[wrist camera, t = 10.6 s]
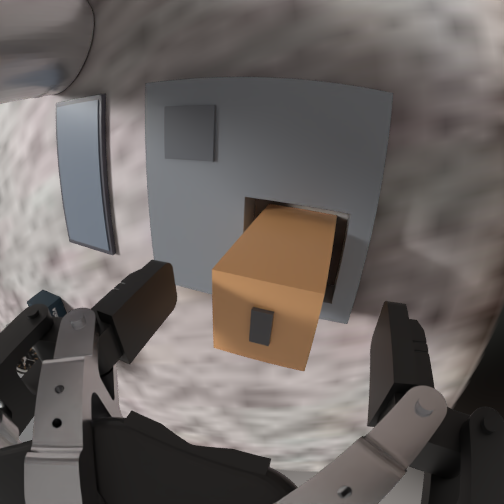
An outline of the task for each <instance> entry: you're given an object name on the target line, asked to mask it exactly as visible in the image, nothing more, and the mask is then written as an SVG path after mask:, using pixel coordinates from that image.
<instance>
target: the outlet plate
mask: <svg viewBox="0 0 504 504" xmlns="http://www.w3.org/2000/svg"><path fill="white" fill-rule="evenodd" d="M392 102H393V93H390V92H386V91H381V90H376V89H370V88H365V87H359V86H353V85H346V84H339V83H332V82H323V81H314V80H303V79H290V78H272V77H211V78H193V79H180V80H169V81H160V82H152V83H146V89H145V145H146V172H147V189H148V204H149V216H150V227H151V237H152V247H153V255H154V260H158V261H163V262H168V263H171V264H172V266H173V272H174V279H175V285H178V286H182V287H185V288H189V289H193V290H197V291H201V292H205V293H209V294H212V269H213V267H214V266H215V265H216V264H217V263H218V262H219V260H220V259H221V258H222V257H223V256H224V255H225V254H226V252H227V251H228V250H229V249H230V248H231V247H232V245H233V244H234V243H235V242H236V241H237V240H238V239H239V237H240V236H241V235H242V234H243V233H244V232H245V230H246V229H247V228H248V227H249V226H250V225H251V224H252V222H253V221H254V213H255V198H258V199H265V200H271V201H278V202H284V203H291V204H297V205H303V206H309V207H315V208H321V209H326V210H332V211H338V212H343V213H348V214H349V215H348V221H347V226H346V232H345V237H344V242H343V247H342V252H341V257H340V262H339V266H338V271H337V275H336V280H335V284H334V285H329V284H326V290H325V295H324V299H323V303H322V307H321V311H320V315H319V319H324V320H329V321H334V322H339V323H344V324H347V323H348V320H349V317H350V314H351V310H352V307H353V304H354V300H355V297H356V293H357V290H358V286H359V283H360V279H361V275H362V272H363V268H364V264H365V260H366V256H367V252H368V248H369V243H370V239H371V235H372V230H373V226H374V221H375V216H376V211H377V206H378V201H379V196H380V190H381V185H382V179H383V173H384V167H385V160H386V154H387V146H388V139H389V131H390V122H391V112H392Z"/></svg>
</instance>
